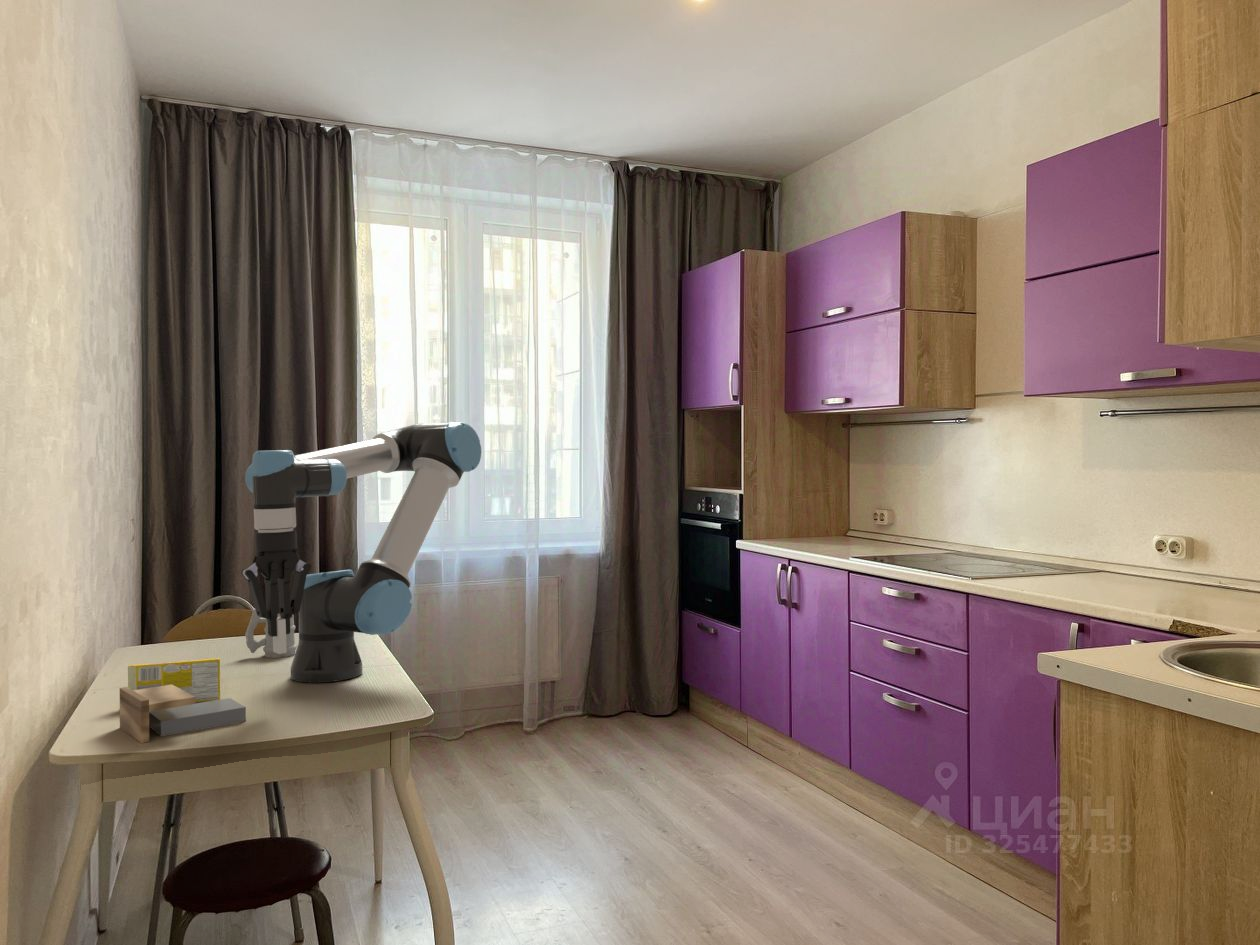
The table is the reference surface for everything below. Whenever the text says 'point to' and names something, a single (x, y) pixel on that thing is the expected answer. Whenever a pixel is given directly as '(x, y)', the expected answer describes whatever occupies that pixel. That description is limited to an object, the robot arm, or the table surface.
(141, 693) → the shelf
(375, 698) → the table surface
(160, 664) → the candy box
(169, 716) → the gray block
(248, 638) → the mug
